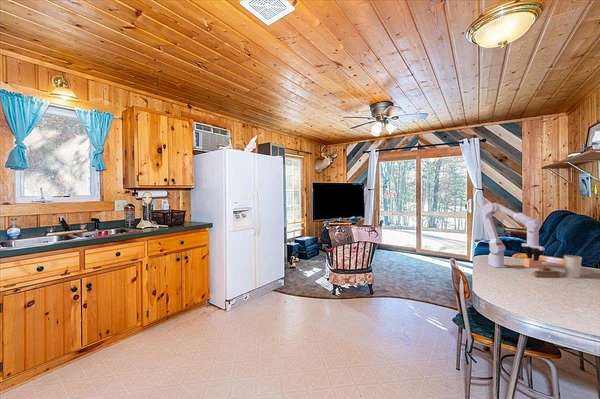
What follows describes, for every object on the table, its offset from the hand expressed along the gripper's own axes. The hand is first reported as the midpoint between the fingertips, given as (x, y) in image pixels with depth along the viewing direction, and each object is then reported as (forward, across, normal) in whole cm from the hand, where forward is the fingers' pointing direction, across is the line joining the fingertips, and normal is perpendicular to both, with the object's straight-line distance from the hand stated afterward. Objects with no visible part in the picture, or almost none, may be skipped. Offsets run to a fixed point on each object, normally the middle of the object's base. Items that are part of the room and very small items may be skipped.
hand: (532, 259), depth 175 cm
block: (+4, 0, 0) cm, 5 cm away
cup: (+9, +8, +18) cm, 21 cm away
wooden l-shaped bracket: (+8, +2, +2) cm, 9 cm away
